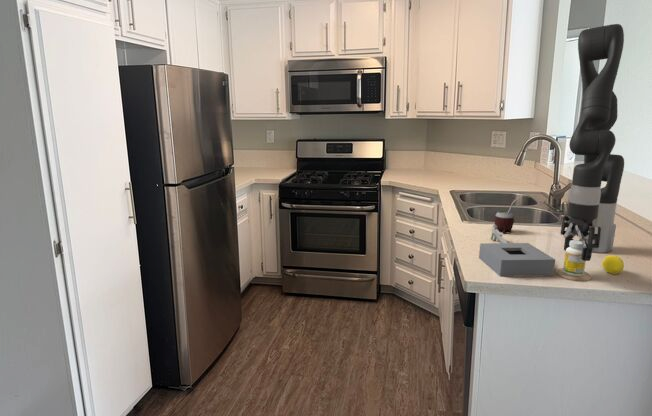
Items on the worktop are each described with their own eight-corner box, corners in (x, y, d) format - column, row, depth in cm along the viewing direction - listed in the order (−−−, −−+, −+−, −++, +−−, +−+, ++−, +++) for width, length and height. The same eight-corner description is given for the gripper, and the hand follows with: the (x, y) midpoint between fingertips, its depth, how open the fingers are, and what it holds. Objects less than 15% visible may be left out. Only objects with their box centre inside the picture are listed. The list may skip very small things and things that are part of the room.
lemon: (624, 279, 126) (628, 262, 124) (603, 276, 127) (606, 260, 126) (618, 268, 132) (622, 252, 130) (598, 265, 134) (601, 250, 132)
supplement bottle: (580, 278, 123) (584, 246, 121) (560, 273, 127) (564, 241, 125) (586, 273, 127) (590, 242, 125) (566, 268, 130) (570, 238, 128)
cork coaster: (578, 269, 131) (579, 267, 131) (598, 281, 123) (598, 279, 122) (550, 270, 131) (550, 268, 131) (567, 281, 122) (567, 279, 122)
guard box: (526, 257, 142) (528, 243, 141) (553, 275, 127) (555, 259, 125) (478, 257, 142) (480, 243, 140) (499, 276, 126) (501, 260, 125)
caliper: (490, 239, 162) (491, 223, 161) (493, 239, 162) (494, 223, 161) (514, 257, 143) (516, 239, 141) (518, 257, 143) (520, 239, 141)
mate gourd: (492, 229, 176) (495, 193, 173) (512, 230, 174) (516, 194, 171) (495, 234, 169) (498, 196, 165) (516, 235, 167) (520, 197, 164)
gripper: (614, 206, 115) (605, 263, 119) (581, 196, 129) (574, 247, 132) (586, 206, 115) (578, 264, 118) (556, 196, 129) (550, 248, 132)
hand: (576, 255), depth 125 cm, fingers open, 8 cm apart
